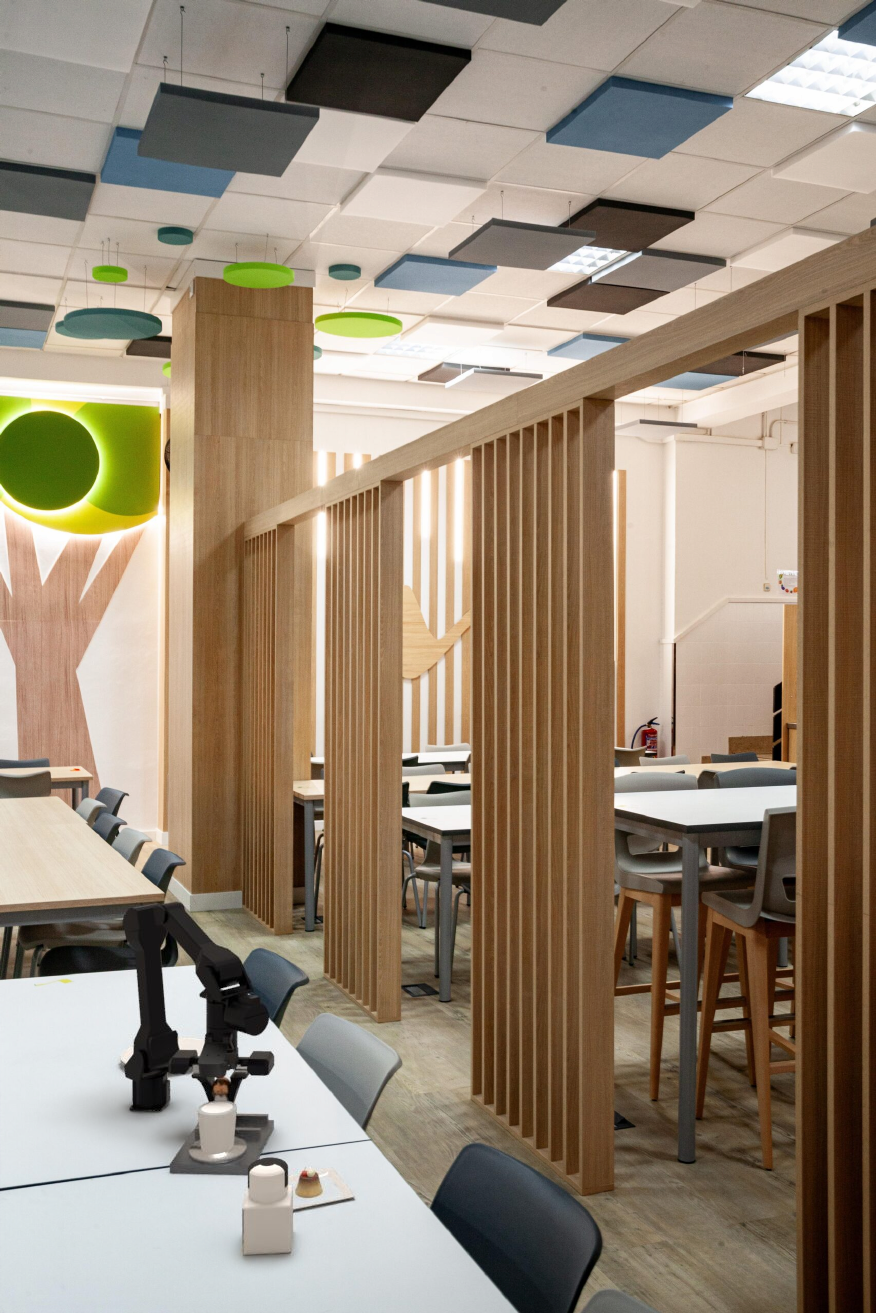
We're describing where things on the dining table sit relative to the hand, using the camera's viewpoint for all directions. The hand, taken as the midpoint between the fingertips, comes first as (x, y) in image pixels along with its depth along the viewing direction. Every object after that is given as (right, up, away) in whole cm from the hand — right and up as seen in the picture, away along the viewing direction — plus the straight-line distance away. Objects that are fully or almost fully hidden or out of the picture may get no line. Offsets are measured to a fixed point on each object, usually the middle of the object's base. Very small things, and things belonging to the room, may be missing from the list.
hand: (221, 1108), depth 211 cm
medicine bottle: (+15, -4, -40) cm, 43 cm away
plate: (-20, -6, +41) cm, 46 cm away
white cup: (+1, -3, -11) cm, 11 cm away
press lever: (0, -3, 0) cm, 3 cm away
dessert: (+19, -5, -23) cm, 30 cm away
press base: (+2, -5, -6) cm, 8 cm away
